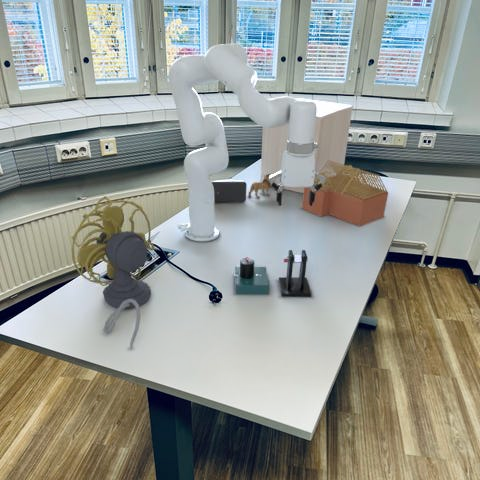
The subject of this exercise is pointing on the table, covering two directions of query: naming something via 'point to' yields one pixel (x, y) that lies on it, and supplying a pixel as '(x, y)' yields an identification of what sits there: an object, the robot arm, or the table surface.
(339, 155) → the cabinet
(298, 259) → the toaster lever
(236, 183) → the leaning round-cornered charcoal block
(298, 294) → the black upright frame
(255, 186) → the lion figurine
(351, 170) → the house
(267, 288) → the dial panel
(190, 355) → the table surface
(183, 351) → the table surface
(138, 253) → the electric fan
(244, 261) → the knob
